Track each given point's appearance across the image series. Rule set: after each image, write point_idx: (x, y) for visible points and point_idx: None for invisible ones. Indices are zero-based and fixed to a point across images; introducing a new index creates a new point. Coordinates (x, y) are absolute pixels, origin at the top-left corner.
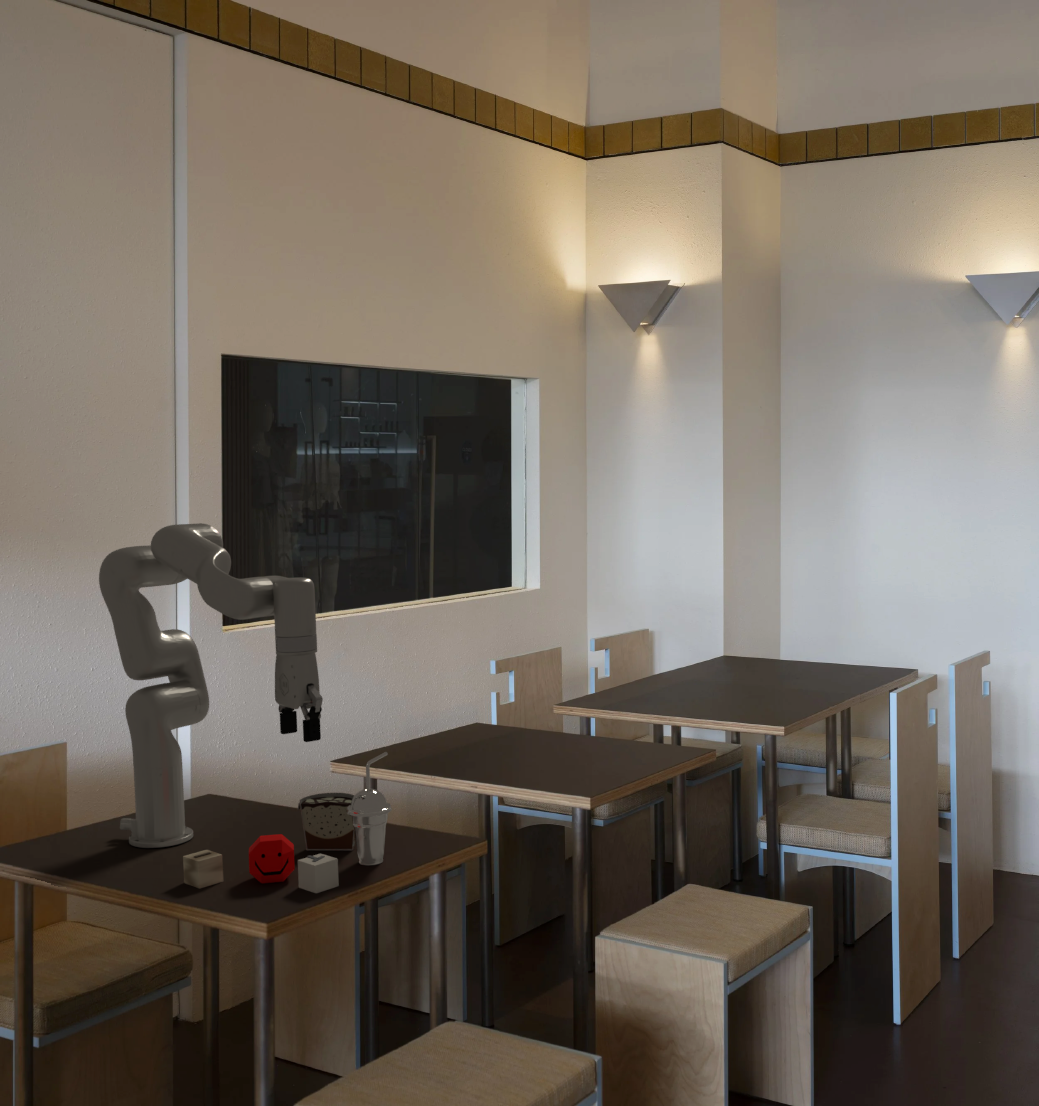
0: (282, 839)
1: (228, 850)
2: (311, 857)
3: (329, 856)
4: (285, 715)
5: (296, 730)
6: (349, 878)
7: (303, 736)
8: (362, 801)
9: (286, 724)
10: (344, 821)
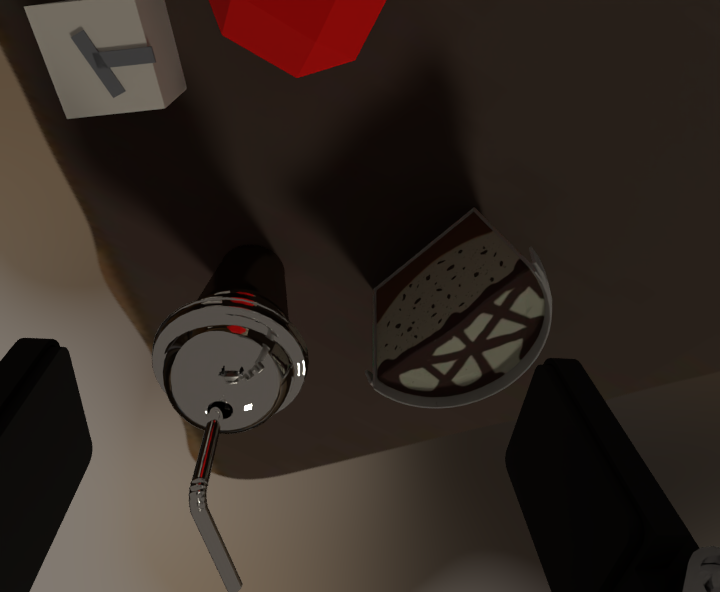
0: (245, 3)
1: (690, 28)
2: (123, 50)
3: (109, 112)
4: (605, 540)
5: (508, 465)
6: (152, 159)
7: (24, 366)
8: (185, 355)
9: (560, 455)
10: (398, 322)
